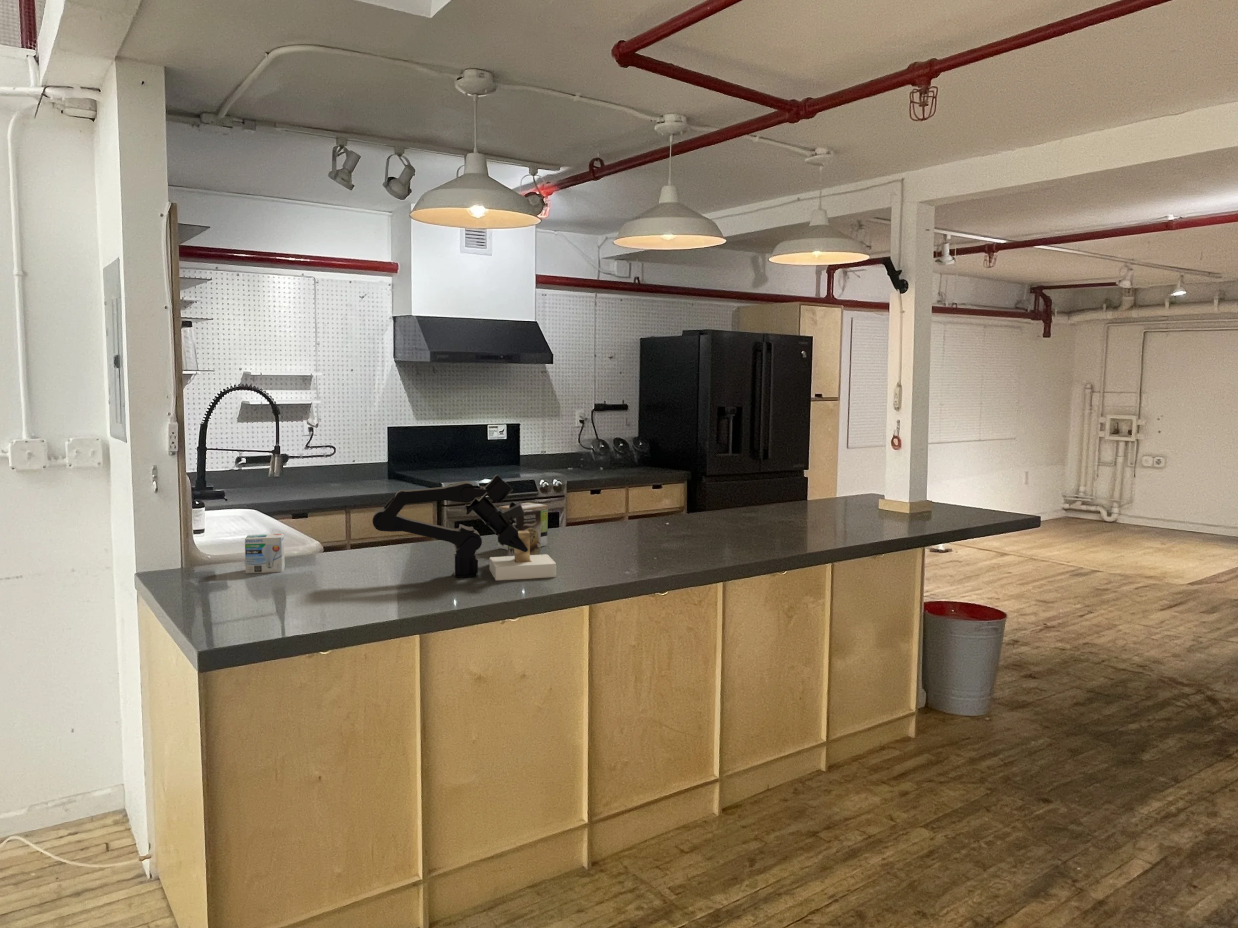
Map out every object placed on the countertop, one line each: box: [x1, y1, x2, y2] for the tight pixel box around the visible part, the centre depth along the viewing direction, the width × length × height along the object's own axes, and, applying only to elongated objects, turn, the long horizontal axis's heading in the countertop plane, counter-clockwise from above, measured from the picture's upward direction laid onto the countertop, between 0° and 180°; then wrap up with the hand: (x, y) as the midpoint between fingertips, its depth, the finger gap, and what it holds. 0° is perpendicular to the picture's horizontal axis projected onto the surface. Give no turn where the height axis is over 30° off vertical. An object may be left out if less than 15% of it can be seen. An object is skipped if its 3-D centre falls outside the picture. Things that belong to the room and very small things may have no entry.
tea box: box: [497, 502, 549, 551], centre depth 308 cm, size 15×10×15 cm, turn 143°
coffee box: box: [507, 509, 542, 556], centre depth 288 cm, size 9×6×16 cm
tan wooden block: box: [515, 531, 530, 563], centre depth 268 cm, size 4×4×12 cm
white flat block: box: [489, 553, 557, 581], centre depth 268 cm, size 18×14×4 cm
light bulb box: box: [244, 533, 286, 574], centre depth 269 cm, size 11×7×11 cm, turn 106°
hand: (526, 549), depth 268 cm, fingers closed on tan wooden block, 4 cm apart
